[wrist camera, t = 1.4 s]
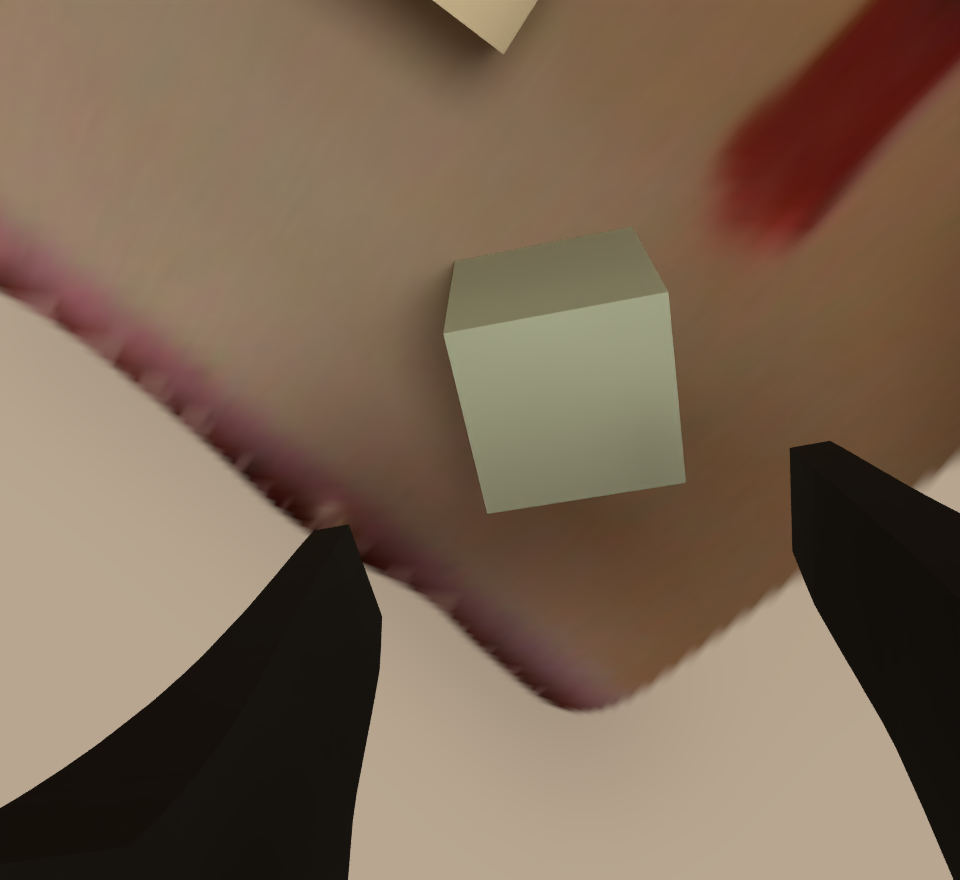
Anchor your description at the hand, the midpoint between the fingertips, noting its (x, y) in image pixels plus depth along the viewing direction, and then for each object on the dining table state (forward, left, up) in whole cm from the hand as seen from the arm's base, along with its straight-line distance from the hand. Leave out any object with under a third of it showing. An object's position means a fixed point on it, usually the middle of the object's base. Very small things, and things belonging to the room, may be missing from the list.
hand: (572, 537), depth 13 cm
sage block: (0, 0, -10) cm, 10 cm away
